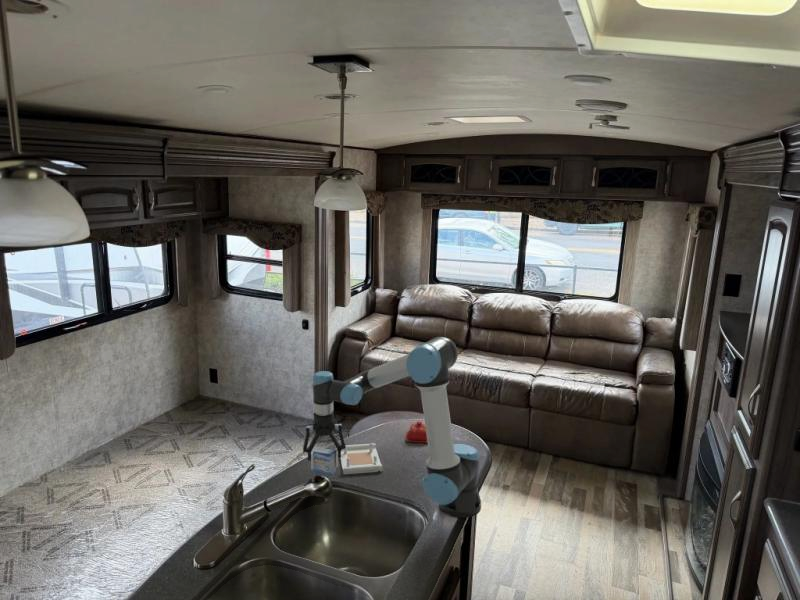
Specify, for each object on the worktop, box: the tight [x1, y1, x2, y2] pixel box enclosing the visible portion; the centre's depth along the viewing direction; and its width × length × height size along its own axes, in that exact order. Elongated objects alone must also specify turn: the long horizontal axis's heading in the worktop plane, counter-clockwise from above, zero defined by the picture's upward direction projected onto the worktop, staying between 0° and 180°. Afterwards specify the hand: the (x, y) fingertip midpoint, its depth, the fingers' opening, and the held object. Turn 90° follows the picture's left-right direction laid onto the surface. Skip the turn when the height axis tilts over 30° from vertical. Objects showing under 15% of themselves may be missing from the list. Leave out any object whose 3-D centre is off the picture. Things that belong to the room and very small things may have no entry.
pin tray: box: [339, 442, 384, 475], centre depth 233 cm, size 20×16×4 cm
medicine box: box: [312, 446, 337, 476], centre depth 214 cm, size 8×4×9 cm, turn 73°
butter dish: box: [405, 420, 428, 444], centre depth 254 cm, size 12×12×8 cm
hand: (324, 466), depth 214 cm, fingers closed on medicine box, 9 cm apart
